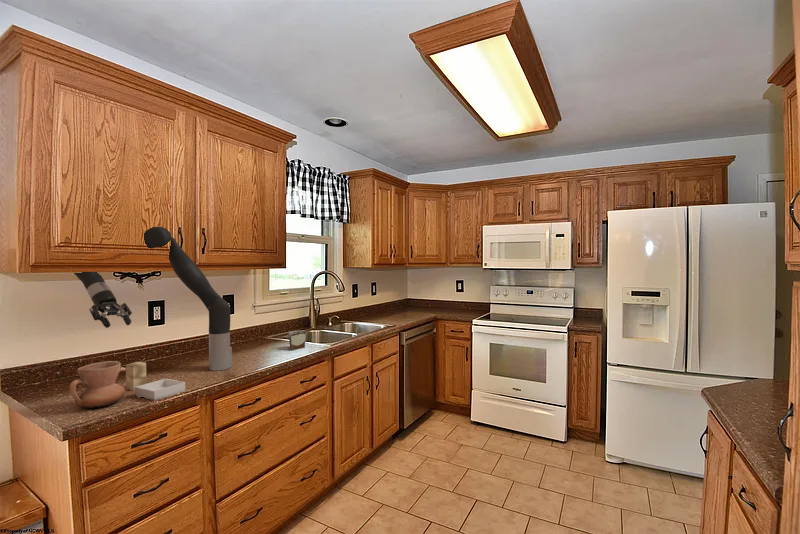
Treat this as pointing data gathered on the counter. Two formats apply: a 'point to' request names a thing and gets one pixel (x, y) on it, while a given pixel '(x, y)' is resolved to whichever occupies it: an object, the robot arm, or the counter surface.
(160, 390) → the tray
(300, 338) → the food container
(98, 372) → the ceramic jug
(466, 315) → the counter surface
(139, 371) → the block
